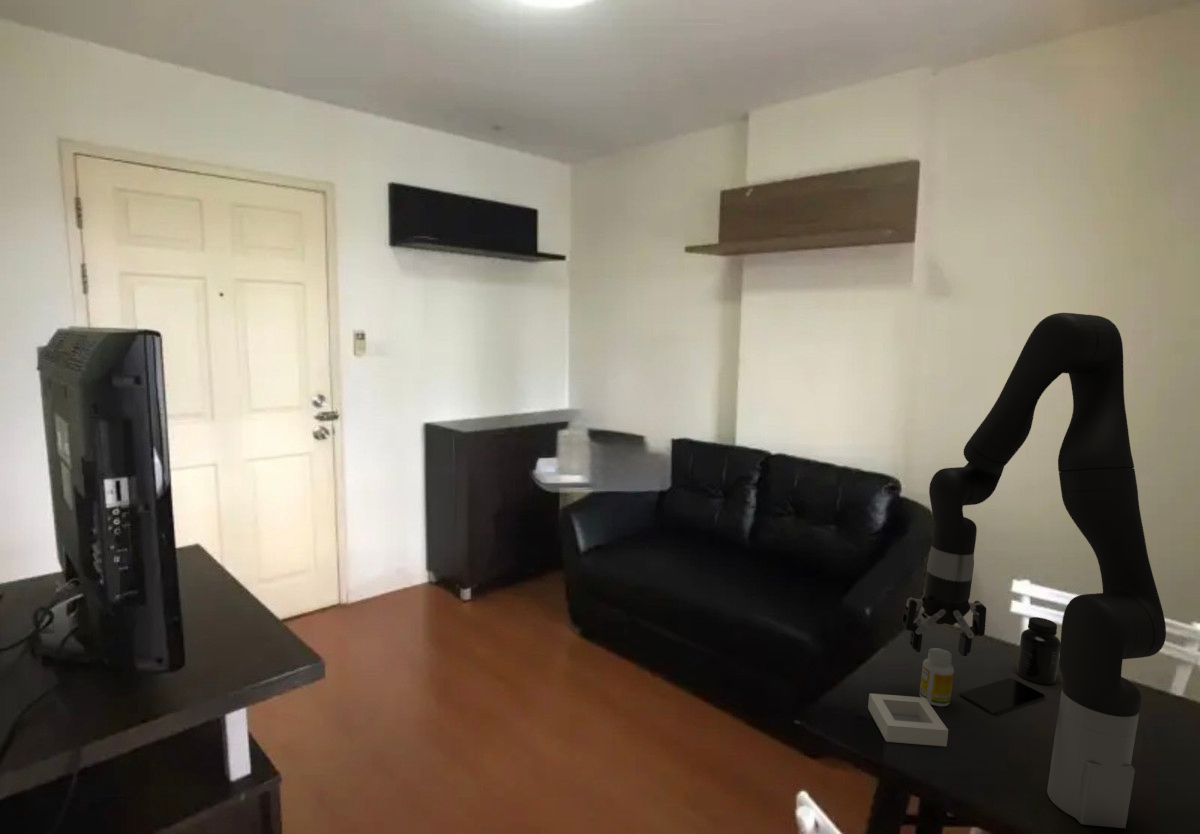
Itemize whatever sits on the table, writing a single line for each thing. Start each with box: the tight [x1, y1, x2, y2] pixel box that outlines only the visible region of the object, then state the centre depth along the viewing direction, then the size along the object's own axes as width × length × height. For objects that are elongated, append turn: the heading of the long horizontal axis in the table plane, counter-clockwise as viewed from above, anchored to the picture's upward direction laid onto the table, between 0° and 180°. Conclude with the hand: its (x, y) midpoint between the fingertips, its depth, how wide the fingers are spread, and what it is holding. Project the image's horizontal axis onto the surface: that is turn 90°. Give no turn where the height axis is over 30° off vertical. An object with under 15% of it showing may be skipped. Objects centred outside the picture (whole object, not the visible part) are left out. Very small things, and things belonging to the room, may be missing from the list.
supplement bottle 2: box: [1016, 616, 1061, 686], centre depth 137 cm, size 7×7×12 cm
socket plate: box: [867, 693, 949, 748], centre depth 119 cm, size 10×10×3 cm
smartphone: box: [958, 677, 1047, 716], centre depth 130 cm, size 8×1×16 cm
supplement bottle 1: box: [919, 647, 955, 707], centre depth 127 cm, size 5×5×10 cm
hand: (939, 652), depth 127 cm, fingers open, 8 cm apart
